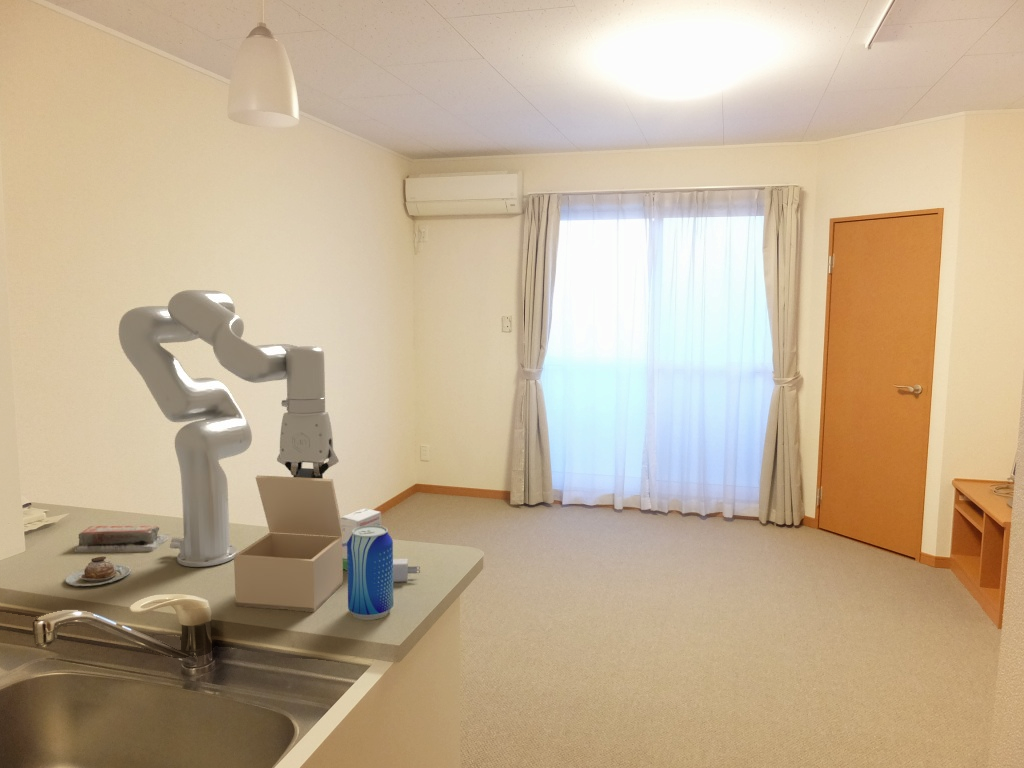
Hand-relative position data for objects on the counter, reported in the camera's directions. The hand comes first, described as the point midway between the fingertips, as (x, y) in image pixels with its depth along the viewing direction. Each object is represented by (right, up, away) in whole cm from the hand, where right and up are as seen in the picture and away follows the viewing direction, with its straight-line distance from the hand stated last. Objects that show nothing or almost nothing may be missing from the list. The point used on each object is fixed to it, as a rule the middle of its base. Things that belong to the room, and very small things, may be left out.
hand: (308, 492), depth 150 cm
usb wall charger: (+20, -19, +2) cm, 27 cm away
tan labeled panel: (-1, -2, -4) cm, 5 cm away
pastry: (-45, -19, +1) cm, 49 cm away
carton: (-2, -19, -7) cm, 21 cm away
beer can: (+16, -21, -14) cm, 30 cm away
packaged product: (-50, -17, +22) cm, 57 cm away
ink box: (+9, -18, +10) cm, 22 cm away
